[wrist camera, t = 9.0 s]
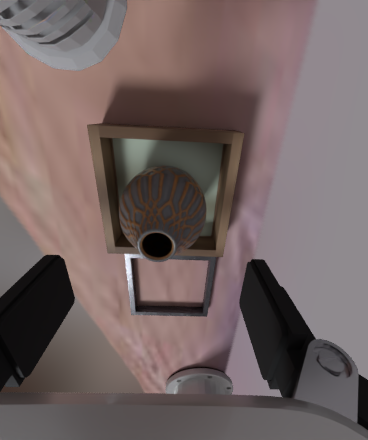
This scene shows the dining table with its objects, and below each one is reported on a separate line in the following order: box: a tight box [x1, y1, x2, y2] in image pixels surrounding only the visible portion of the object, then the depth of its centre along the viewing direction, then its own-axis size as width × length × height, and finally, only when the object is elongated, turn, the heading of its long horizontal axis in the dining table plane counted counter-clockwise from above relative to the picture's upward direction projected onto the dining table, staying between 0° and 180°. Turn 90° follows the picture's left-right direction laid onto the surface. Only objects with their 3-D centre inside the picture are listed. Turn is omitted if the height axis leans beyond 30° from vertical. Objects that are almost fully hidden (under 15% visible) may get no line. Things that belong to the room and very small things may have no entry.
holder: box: [87, 123, 244, 257], centre depth 19 cm, size 12×12×3 cm
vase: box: [119, 165, 207, 262], centre depth 16 cm, size 7×7×9 cm
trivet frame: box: [125, 254, 216, 317], centre depth 25 cm, size 10×10×1 cm
